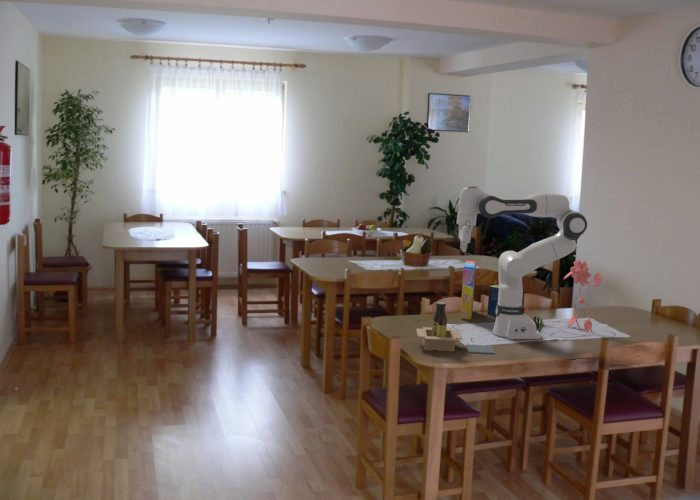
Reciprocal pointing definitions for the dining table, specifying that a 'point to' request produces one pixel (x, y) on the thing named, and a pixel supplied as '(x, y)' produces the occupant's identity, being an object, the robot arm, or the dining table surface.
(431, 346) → the carton
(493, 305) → the protein box
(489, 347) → the mat
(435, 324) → the sauce bottle
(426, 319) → the dining table surface
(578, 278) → the pink blossom sprig
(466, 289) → the game box
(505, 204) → the robot arm
